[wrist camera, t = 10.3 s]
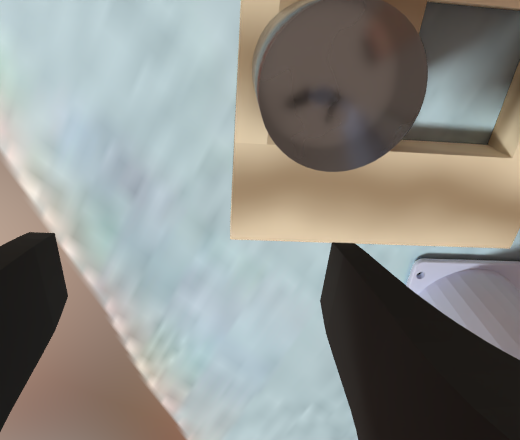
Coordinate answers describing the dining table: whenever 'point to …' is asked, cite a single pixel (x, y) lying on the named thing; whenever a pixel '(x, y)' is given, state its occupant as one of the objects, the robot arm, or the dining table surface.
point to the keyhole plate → (375, 172)
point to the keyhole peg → (339, 81)
